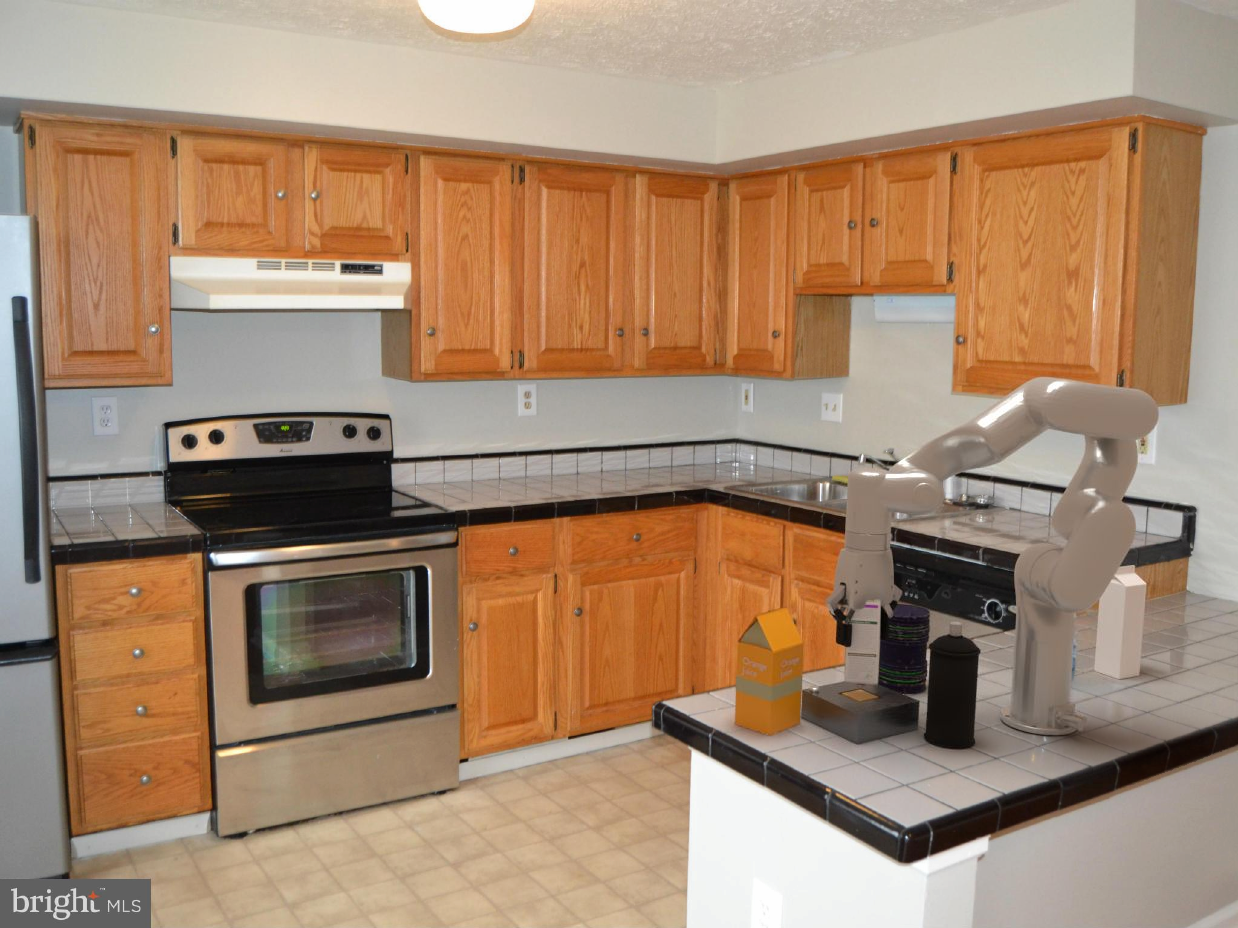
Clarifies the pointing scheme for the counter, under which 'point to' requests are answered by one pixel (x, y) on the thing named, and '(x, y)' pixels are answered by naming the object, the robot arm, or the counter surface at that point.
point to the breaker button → (860, 695)
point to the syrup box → (864, 645)
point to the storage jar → (905, 651)
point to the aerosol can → (952, 690)
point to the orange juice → (769, 673)
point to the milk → (1121, 625)
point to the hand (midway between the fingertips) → (862, 641)
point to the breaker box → (860, 711)
